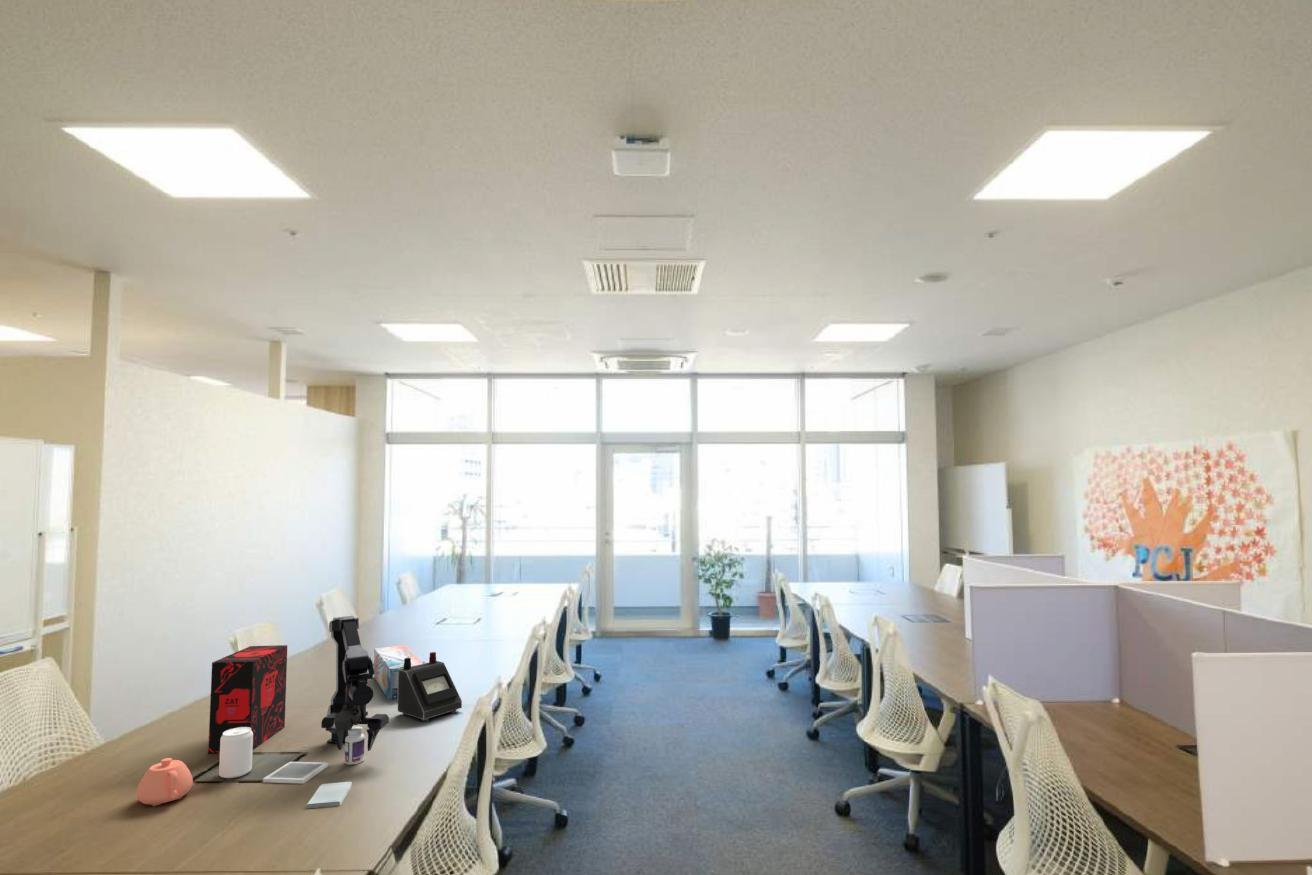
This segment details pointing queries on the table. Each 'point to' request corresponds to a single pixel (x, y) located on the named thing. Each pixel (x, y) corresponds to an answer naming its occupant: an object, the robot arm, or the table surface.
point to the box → (248, 694)
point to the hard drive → (329, 795)
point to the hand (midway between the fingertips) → (354, 750)
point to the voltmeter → (426, 690)
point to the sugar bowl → (164, 782)
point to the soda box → (391, 667)
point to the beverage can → (236, 752)
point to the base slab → (295, 772)
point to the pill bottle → (354, 746)
